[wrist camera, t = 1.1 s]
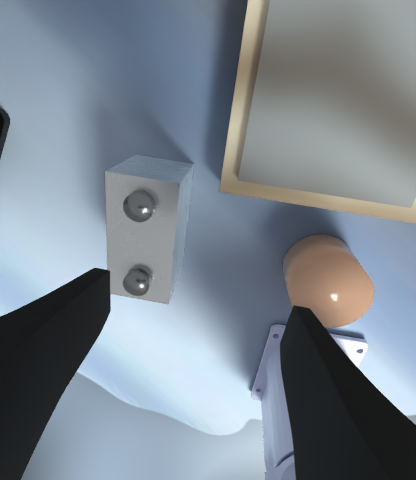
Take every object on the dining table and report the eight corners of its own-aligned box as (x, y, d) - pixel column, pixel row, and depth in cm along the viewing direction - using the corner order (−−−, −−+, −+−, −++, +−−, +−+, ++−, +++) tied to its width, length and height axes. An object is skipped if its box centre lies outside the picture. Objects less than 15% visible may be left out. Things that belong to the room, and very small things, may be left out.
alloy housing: (182, 264, 23) (166, 310, 18) (133, 255, 23) (104, 299, 18) (194, 163, 20) (177, 186, 15) (136, 154, 20) (100, 174, 15)
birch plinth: (400, 211, 19) (420, 226, 17) (221, 183, 20) (218, 194, 18) (508, -23, 14) (559, -45, 12) (257, -54, 14) (260, -81, 12)
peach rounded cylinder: (339, 296, 23) (356, 333, 19) (275, 285, 23) (281, 320, 19) (362, 240, 21) (387, 270, 17) (292, 228, 21) (302, 256, 17)
